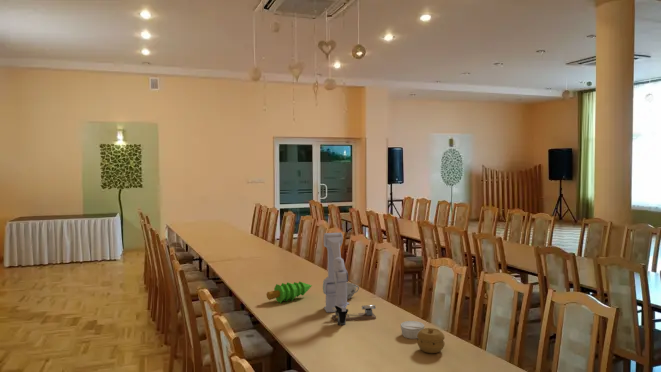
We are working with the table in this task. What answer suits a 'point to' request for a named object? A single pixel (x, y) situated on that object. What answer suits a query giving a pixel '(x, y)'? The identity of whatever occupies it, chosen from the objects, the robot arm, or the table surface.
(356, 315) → the shaft board
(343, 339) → the table surface
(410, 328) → the ramekin
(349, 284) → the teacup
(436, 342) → the pot
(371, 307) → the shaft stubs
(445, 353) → the table surface
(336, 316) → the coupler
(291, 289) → the decorative tree
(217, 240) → the table surface
